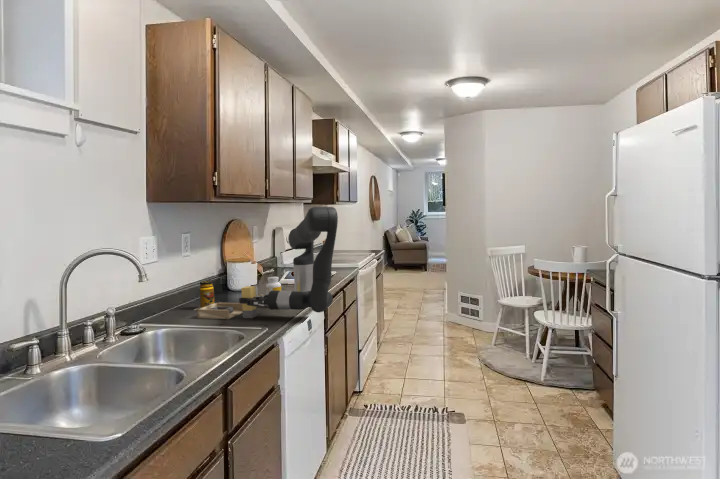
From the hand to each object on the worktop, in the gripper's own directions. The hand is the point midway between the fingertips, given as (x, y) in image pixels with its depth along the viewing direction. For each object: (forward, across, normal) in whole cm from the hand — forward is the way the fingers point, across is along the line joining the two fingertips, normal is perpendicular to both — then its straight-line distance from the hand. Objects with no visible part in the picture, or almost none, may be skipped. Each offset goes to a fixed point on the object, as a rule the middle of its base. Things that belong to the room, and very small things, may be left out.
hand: (242, 299), depth 193 cm
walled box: (+11, -2, +7) cm, 13 cm away
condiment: (+26, -13, +7) cm, 30 cm away
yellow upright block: (-3, 0, +7) cm, 8 cm away
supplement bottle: (-4, -20, +7) cm, 22 cm away
